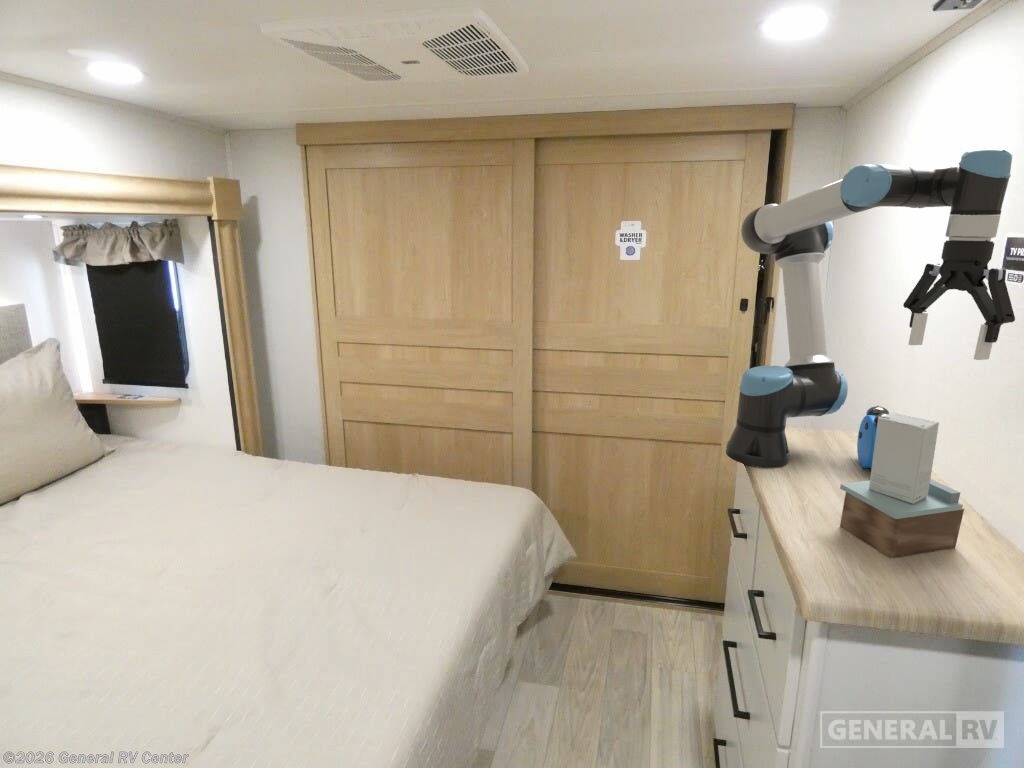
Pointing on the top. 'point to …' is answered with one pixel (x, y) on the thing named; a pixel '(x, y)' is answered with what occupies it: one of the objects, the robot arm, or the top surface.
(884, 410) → the alarm clock
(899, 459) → the skincare box
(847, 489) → the lid
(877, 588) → the top surface
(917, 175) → the robot arm
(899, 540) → the box
